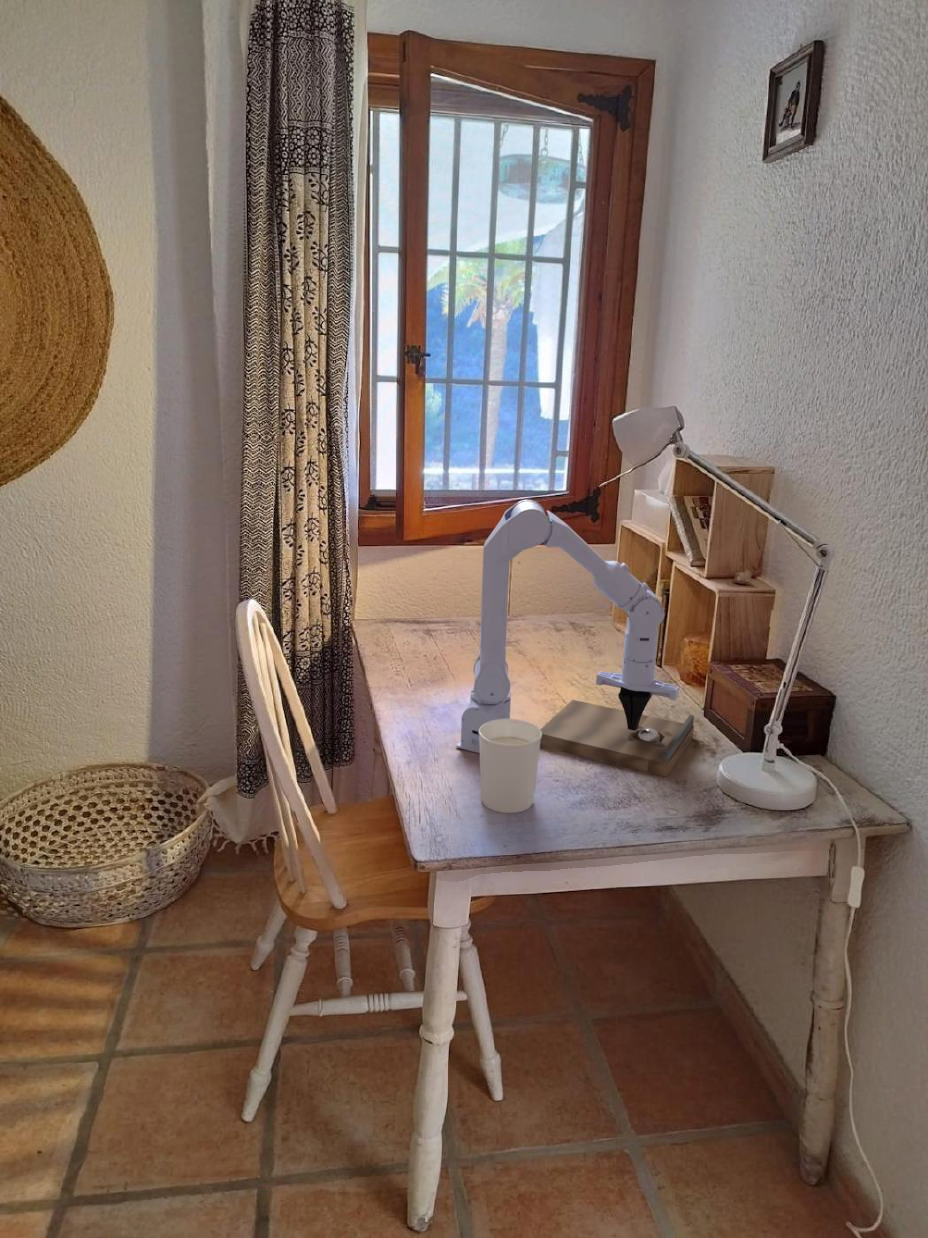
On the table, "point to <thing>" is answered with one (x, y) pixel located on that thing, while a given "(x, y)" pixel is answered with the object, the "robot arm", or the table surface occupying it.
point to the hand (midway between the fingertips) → (632, 728)
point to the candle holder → (508, 764)
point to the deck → (616, 737)
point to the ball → (648, 735)
